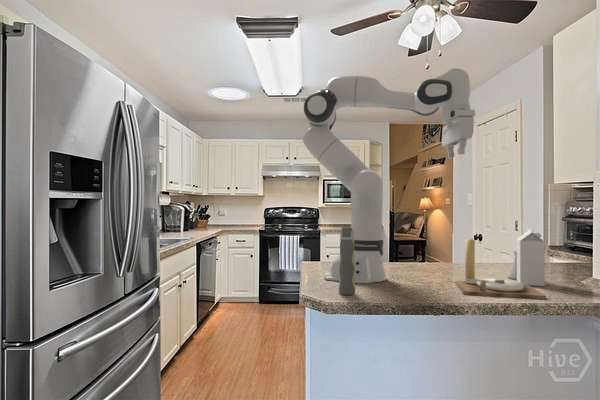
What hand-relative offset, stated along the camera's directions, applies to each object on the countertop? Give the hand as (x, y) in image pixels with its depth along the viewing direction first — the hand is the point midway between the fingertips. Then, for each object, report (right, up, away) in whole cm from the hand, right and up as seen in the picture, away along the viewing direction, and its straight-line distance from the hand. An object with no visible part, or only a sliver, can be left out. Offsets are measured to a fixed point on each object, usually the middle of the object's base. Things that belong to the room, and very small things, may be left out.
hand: (456, 156), depth 130 cm
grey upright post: (-40, -44, -18) cm, 62 cm away
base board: (+7, -44, -13) cm, 46 cm away
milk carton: (+24, -44, -3) cm, 51 cm away
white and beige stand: (+7, -43, -12) cm, 45 cm away
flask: (+26, -45, +6) cm, 52 cm away
